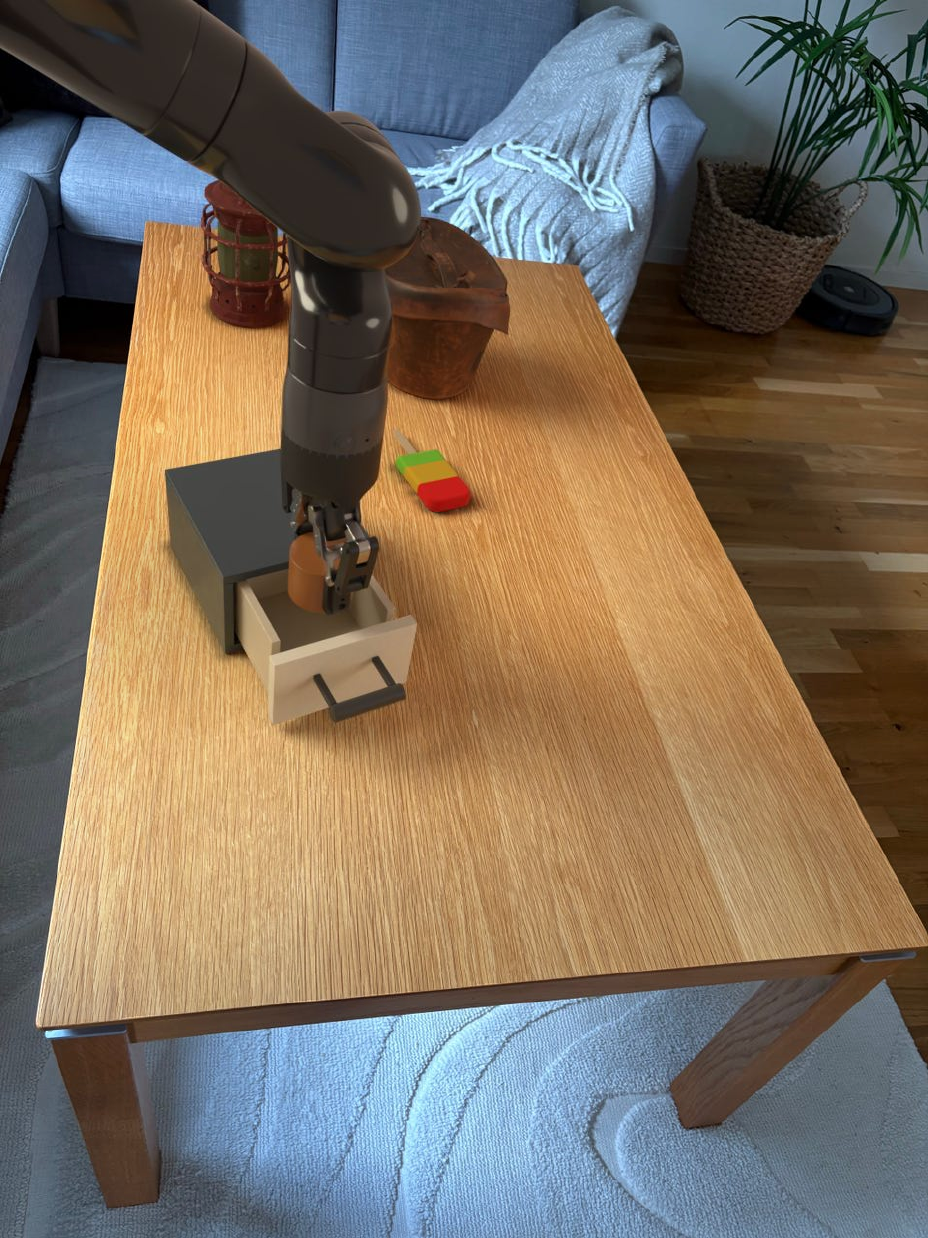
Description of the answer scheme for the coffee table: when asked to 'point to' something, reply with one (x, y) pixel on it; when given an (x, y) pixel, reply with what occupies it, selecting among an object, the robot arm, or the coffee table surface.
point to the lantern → (243, 261)
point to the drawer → (323, 650)
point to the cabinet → (228, 530)
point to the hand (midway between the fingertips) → (320, 585)
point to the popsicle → (431, 477)
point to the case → (443, 310)
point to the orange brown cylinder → (308, 573)
